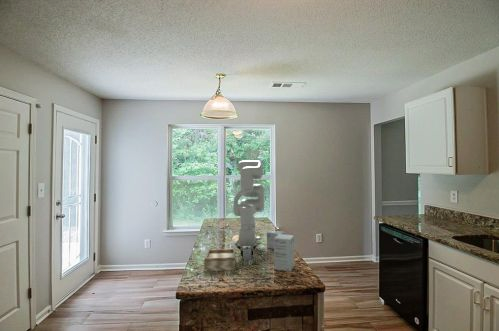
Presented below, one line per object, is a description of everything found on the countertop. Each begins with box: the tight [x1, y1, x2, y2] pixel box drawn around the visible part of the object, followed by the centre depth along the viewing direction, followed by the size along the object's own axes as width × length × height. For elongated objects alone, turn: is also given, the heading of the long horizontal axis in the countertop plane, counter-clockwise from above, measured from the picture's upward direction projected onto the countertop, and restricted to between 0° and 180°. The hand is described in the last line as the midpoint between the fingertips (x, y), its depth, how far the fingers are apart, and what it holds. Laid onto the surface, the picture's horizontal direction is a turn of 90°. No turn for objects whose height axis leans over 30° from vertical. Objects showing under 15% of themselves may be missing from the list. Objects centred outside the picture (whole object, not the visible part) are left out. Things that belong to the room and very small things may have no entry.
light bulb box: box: [266, 230, 285, 250], centre depth 186 cm, size 11×7×11 cm, turn 65°
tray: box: [204, 248, 236, 272], centre depth 154 cm, size 16×16×6 cm
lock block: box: [242, 246, 252, 261], centre depth 167 cm, size 5×7×7 cm
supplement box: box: [273, 234, 296, 272], centre depth 150 cm, size 10×9×17 cm
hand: (247, 256), depth 167 cm, fingers closed on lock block, 5 cm apart
